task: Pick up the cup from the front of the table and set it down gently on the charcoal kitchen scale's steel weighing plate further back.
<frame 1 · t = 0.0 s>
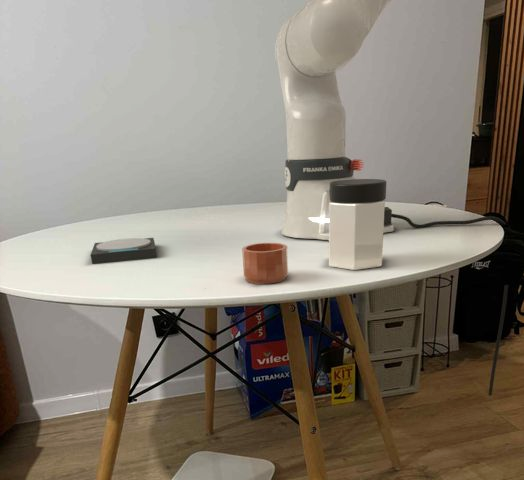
scale: (125, 254, 92), on the table
jar: (355, 264, 77), on the table
cup: (266, 278, 71), on the table
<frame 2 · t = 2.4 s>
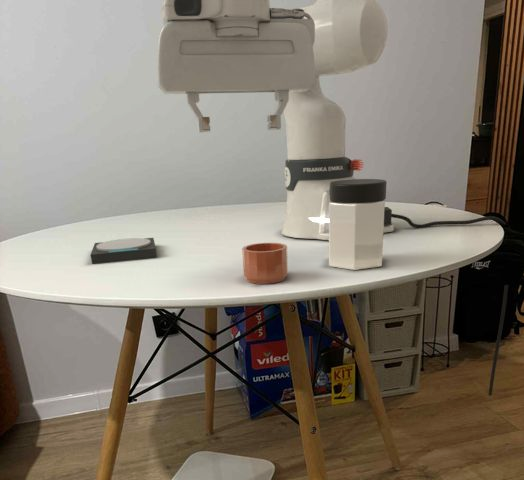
hand: (239, 131, 66), 19 cm above the table, tool pointing down, fingers open, 8 cm apart
nothing on the table moved.
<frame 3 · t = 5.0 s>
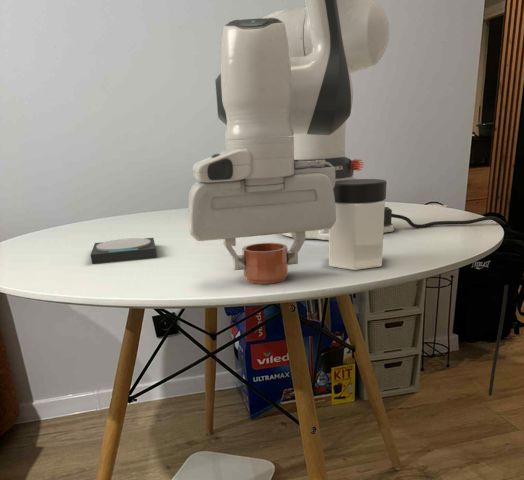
hand: (265, 266, 71), 2 cm above the table, tool pointing down, fingers closed on cup, 6 cm apart
cup: (266, 278, 71), on the table, touching gripper
everything else where it was.
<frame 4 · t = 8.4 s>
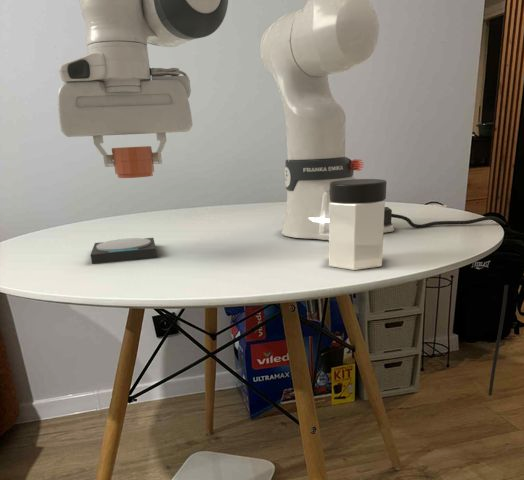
hand: (133, 165, 82), 15 cm above the table, tool pointing down, fingers closed on cup, 6 cm apart
cup: (135, 176, 82), point 14 cm above the table, touching gripper
everything else where it was.
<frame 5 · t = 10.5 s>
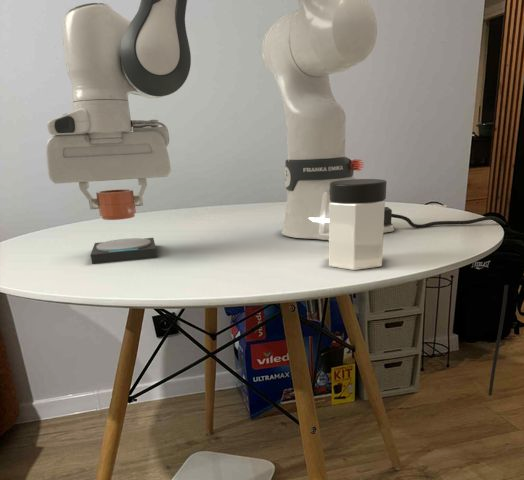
hand: (116, 207, 88), 8 cm above the table, tool pointing down, fingers closed on cup, 6 cm apart
cup: (118, 217, 89), point 7 cm above the table, touching gripper
everything else where it was.
when the fingers open (3 cm above the table, at t = 12.2 s): cup stays where it is, resting on scale.
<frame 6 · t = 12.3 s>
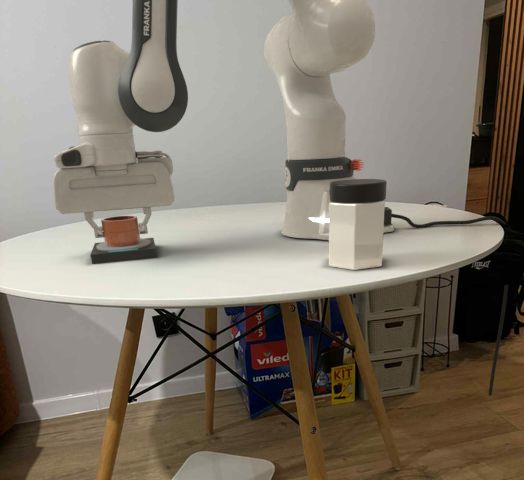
hand: (122, 235, 90), 3 cm above the table, tool pointing down, fingers open, 6 cm apart
cup: (123, 243, 91), point 2 cm above the table, touching scale
everything else where it was.
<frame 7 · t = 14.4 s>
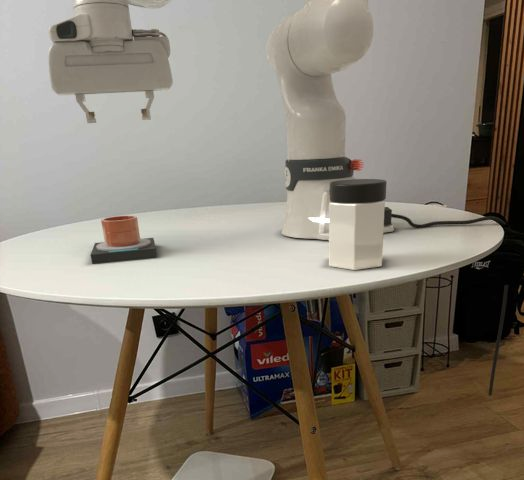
hand: (119, 121, 89), 22 cm above the table, tool pointing down, fingers open, 8 cm apart
nothing on the table moved.
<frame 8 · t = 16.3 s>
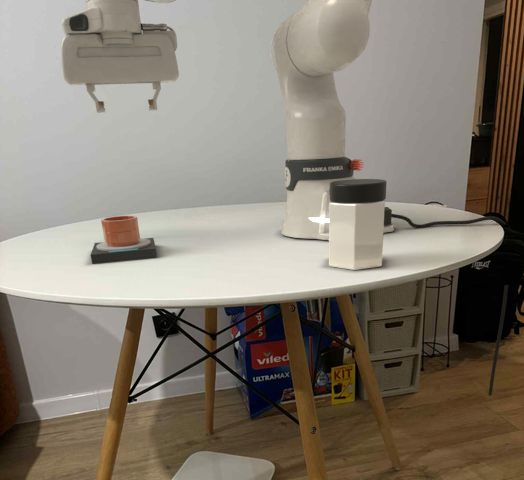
hand: (127, 111, 93), 24 cm above the table, tool pointing down, fingers open, 8 cm apart
nothing on the table moved.
at the end: cup inside the target area on the scale (0.2 cm from its centre), point 2.0 cm above the scale's base; cup tilted 0°; the gripper is holding nothing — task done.
